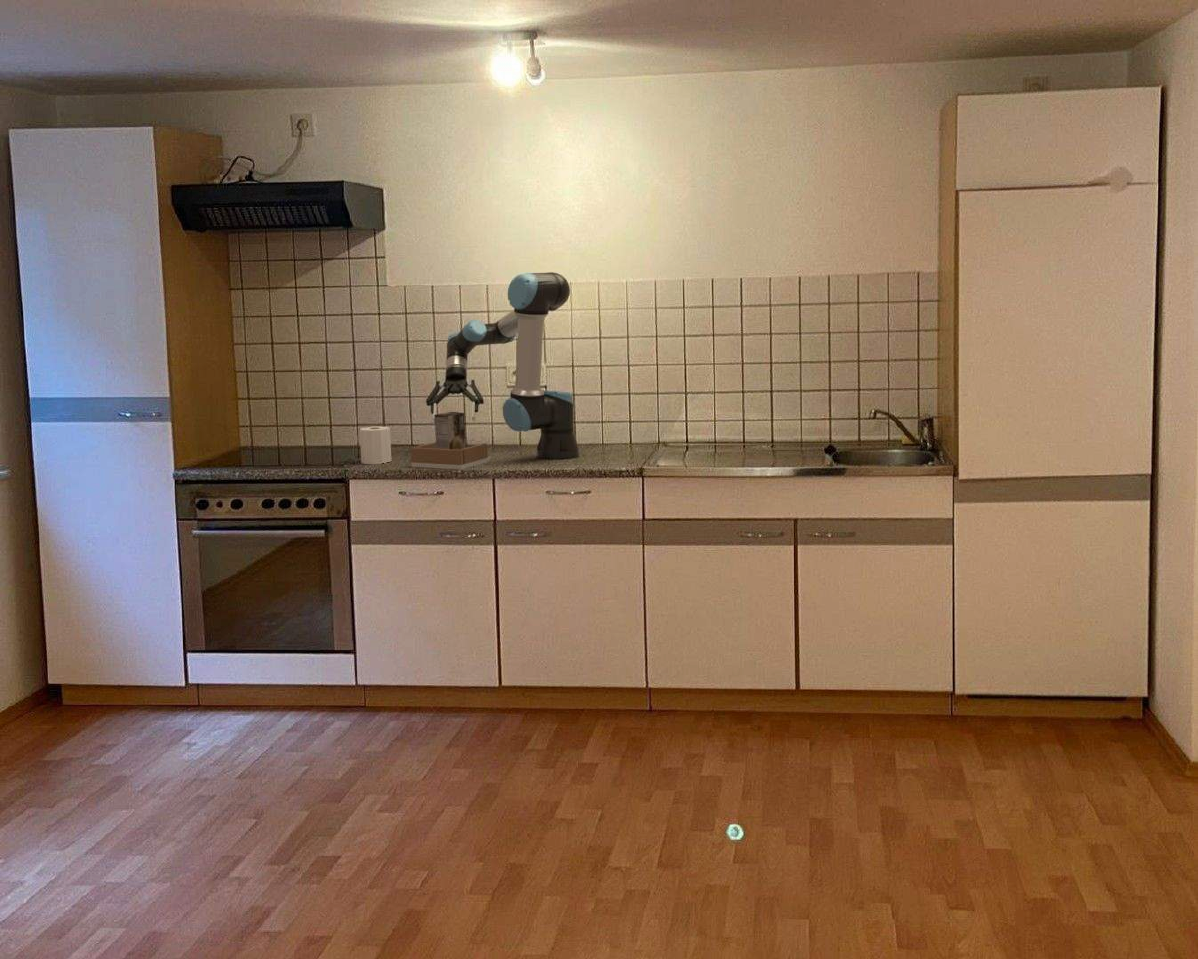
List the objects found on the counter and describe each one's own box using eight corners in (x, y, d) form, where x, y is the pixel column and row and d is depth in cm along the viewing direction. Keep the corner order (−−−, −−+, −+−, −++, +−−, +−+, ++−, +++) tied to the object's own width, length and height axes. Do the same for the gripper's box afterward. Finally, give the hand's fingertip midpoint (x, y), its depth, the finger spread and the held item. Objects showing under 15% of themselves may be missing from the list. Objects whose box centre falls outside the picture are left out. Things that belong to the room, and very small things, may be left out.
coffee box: (452, 457, 510) (450, 411, 508) (466, 458, 507) (465, 412, 504) (435, 461, 503) (433, 414, 500) (450, 462, 499) (448, 415, 497)
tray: (488, 461, 508) (488, 443, 507) (461, 469, 493) (460, 450, 492) (440, 459, 517) (439, 440, 516) (411, 466, 501) (410, 448, 500)
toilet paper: (397, 461, 514) (395, 427, 512) (372, 465, 507) (370, 430, 505) (380, 459, 521) (378, 425, 519) (355, 462, 514) (354, 428, 512)
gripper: (492, 376, 528) (490, 424, 517) (423, 379, 529) (420, 427, 517) (490, 363, 522) (488, 412, 510) (420, 366, 523) (417, 414, 511)
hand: (454, 419), depth 514 cm, fingers open, 13 cm apart
